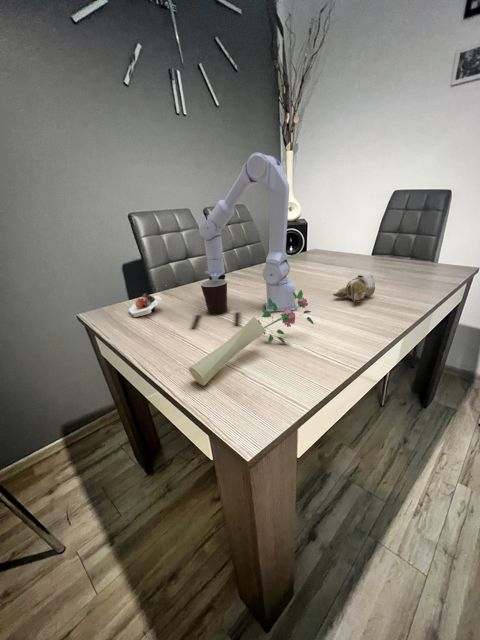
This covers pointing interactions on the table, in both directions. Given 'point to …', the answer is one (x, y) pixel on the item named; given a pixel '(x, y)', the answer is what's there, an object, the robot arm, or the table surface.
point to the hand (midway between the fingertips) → (219, 295)
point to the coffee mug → (215, 296)
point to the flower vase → (243, 341)
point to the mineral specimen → (144, 305)
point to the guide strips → (198, 318)
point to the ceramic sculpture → (358, 288)
